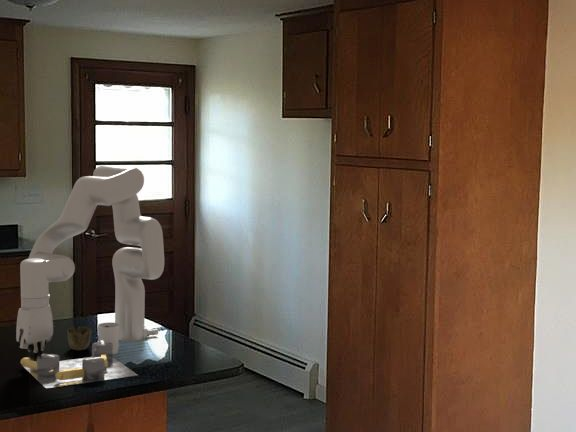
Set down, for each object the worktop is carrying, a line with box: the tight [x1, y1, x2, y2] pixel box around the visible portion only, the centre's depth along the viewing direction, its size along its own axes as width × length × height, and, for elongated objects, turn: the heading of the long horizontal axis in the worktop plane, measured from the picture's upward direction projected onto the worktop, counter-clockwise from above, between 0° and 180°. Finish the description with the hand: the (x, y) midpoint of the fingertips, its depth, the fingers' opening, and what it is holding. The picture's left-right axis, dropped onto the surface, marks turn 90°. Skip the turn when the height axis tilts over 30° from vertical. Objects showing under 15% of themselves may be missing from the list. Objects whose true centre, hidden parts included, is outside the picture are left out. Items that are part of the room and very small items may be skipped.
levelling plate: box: [23, 356, 138, 389], centre depth 234 cm, size 26×23×2 cm
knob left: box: [55, 356, 105, 382], centre depth 225 cm, size 14×6×6 cm, turn 123°
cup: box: [66, 325, 92, 352], centre depth 255 cm, size 8×7×8 cm
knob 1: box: [20, 353, 60, 378], centre depth 231 cm, size 14×6×6 cm, turn 59°
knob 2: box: [91, 340, 114, 367], centre depth 240 cm, size 14×6×6 cm, turn 16°
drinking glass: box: [97, 321, 120, 355], centre depth 253 cm, size 7×7×10 cm
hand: (36, 364), depth 235 cm, fingers closed
